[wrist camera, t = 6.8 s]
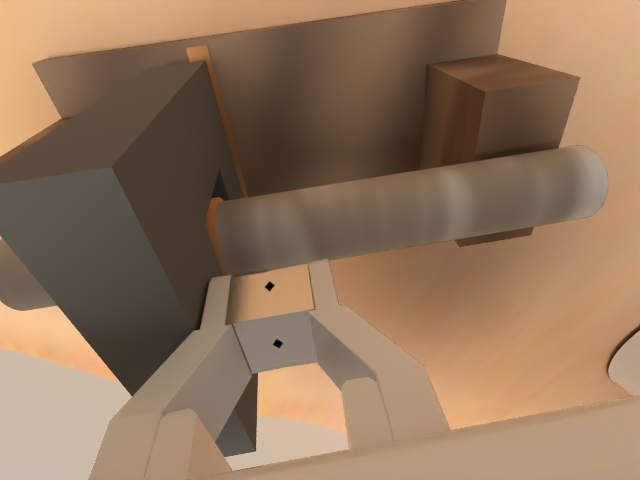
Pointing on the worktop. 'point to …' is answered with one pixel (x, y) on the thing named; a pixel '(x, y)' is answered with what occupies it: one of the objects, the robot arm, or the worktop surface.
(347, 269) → the worktop surface
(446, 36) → the pipe stand
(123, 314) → the dark grey flat slab
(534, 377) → the worktop surface
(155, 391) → the robot arm
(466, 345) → the worktop surface
